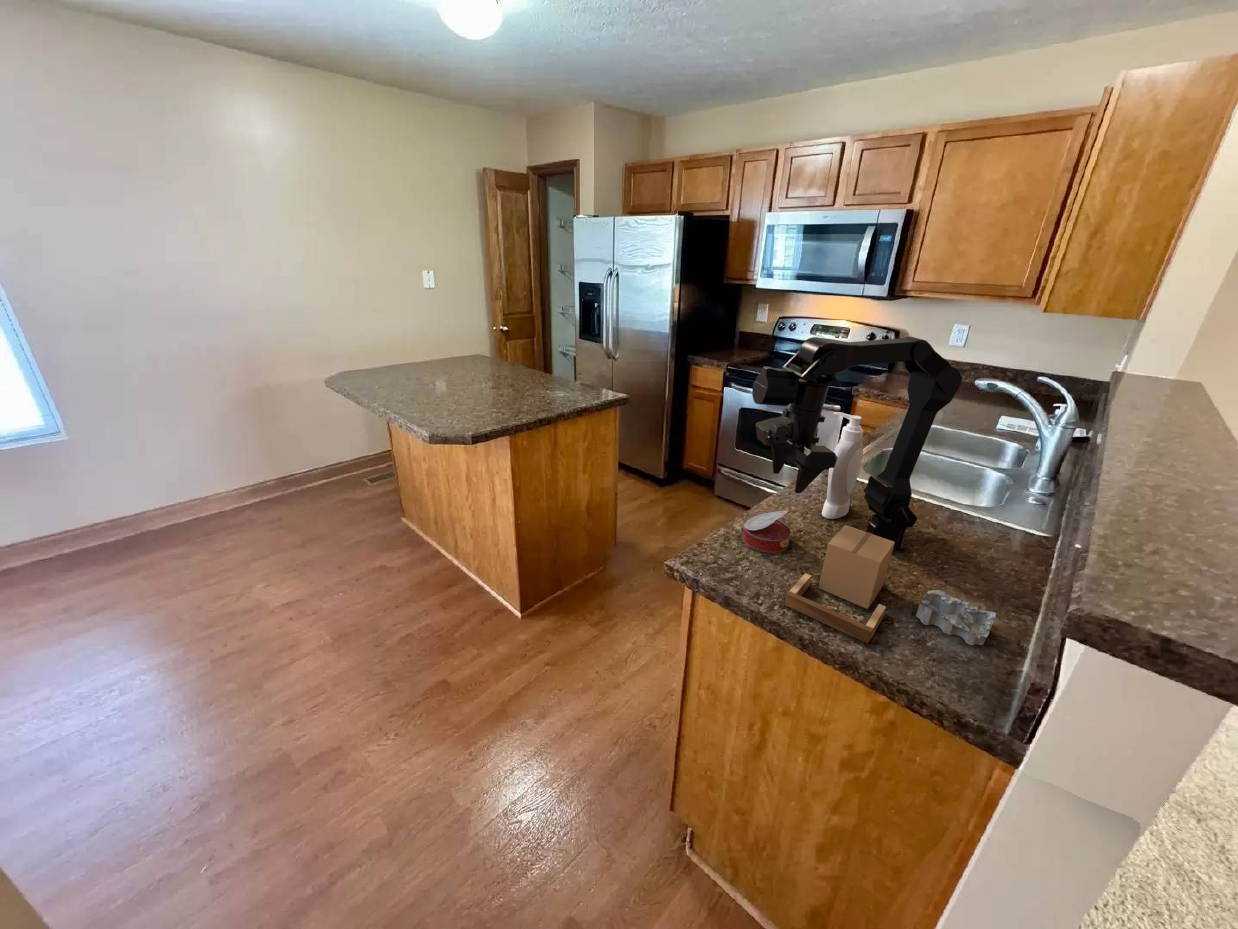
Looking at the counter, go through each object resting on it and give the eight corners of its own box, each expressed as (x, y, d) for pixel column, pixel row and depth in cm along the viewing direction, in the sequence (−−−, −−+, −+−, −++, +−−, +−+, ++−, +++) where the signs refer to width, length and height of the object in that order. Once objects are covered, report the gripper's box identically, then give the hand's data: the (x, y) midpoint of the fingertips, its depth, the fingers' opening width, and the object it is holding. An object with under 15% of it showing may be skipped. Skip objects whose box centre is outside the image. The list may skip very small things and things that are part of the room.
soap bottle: (827, 496, 132) (846, 405, 123) (857, 507, 127) (879, 413, 117) (802, 512, 124) (820, 416, 114) (833, 524, 119) (855, 425, 109)
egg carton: (910, 619, 90) (916, 600, 88) (925, 600, 94) (931, 582, 93) (980, 652, 83) (988, 632, 81) (993, 630, 87) (1000, 611, 86)
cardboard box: (835, 567, 103) (845, 524, 99) (882, 586, 98) (895, 541, 94) (818, 588, 97) (828, 543, 93) (867, 609, 92) (880, 562, 88)
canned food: (759, 570, 110) (746, 539, 104) (741, 541, 118) (727, 511, 113) (807, 547, 109) (796, 514, 104) (785, 519, 117) (774, 488, 112)
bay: (803, 583, 98) (805, 573, 97) (882, 618, 90) (886, 606, 89) (784, 605, 92) (786, 594, 91) (867, 644, 84) (871, 632, 83)
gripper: (746, 391, 103) (731, 463, 108) (790, 420, 86) (769, 503, 92) (796, 395, 105) (779, 465, 111) (849, 424, 88) (825, 505, 94)
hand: (786, 482), depth 102 cm, fingers open, 9 cm apart
